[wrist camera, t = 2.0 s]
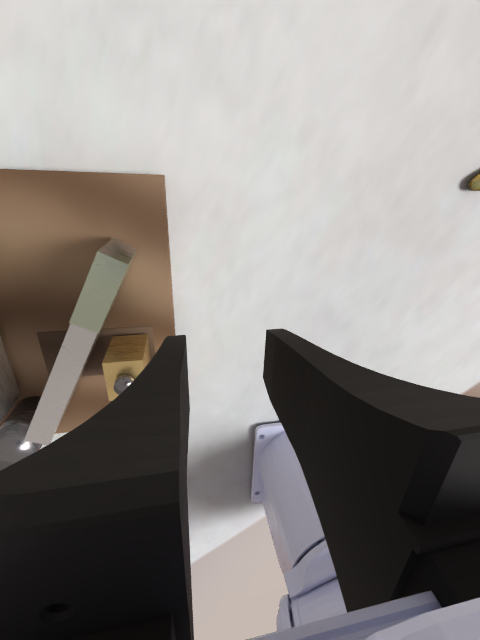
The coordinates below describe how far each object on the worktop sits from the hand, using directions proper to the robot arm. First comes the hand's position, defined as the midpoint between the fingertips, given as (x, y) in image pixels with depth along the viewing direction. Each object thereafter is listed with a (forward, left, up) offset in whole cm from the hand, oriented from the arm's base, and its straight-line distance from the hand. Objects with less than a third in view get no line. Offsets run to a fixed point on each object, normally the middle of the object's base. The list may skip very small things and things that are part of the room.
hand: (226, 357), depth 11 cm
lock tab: (-4, +5, -8) cm, 10 cm away
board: (-2, +8, -9) cm, 13 cm away
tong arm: (-2, +7, -8) cm, 11 cm away
